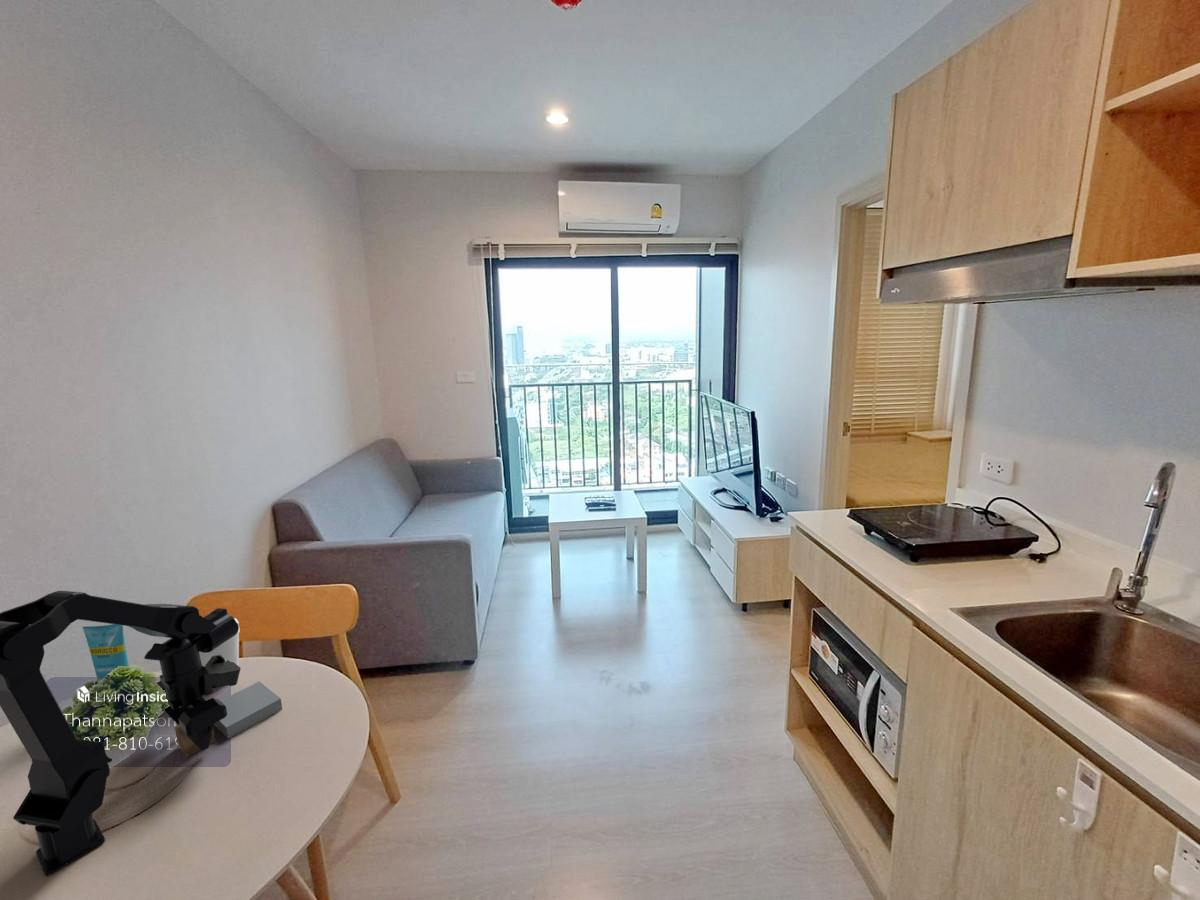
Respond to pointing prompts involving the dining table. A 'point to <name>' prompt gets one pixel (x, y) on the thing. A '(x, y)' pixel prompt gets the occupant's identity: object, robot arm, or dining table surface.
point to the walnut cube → (188, 742)
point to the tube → (106, 648)
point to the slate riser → (248, 708)
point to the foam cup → (224, 650)
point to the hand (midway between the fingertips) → (195, 738)
